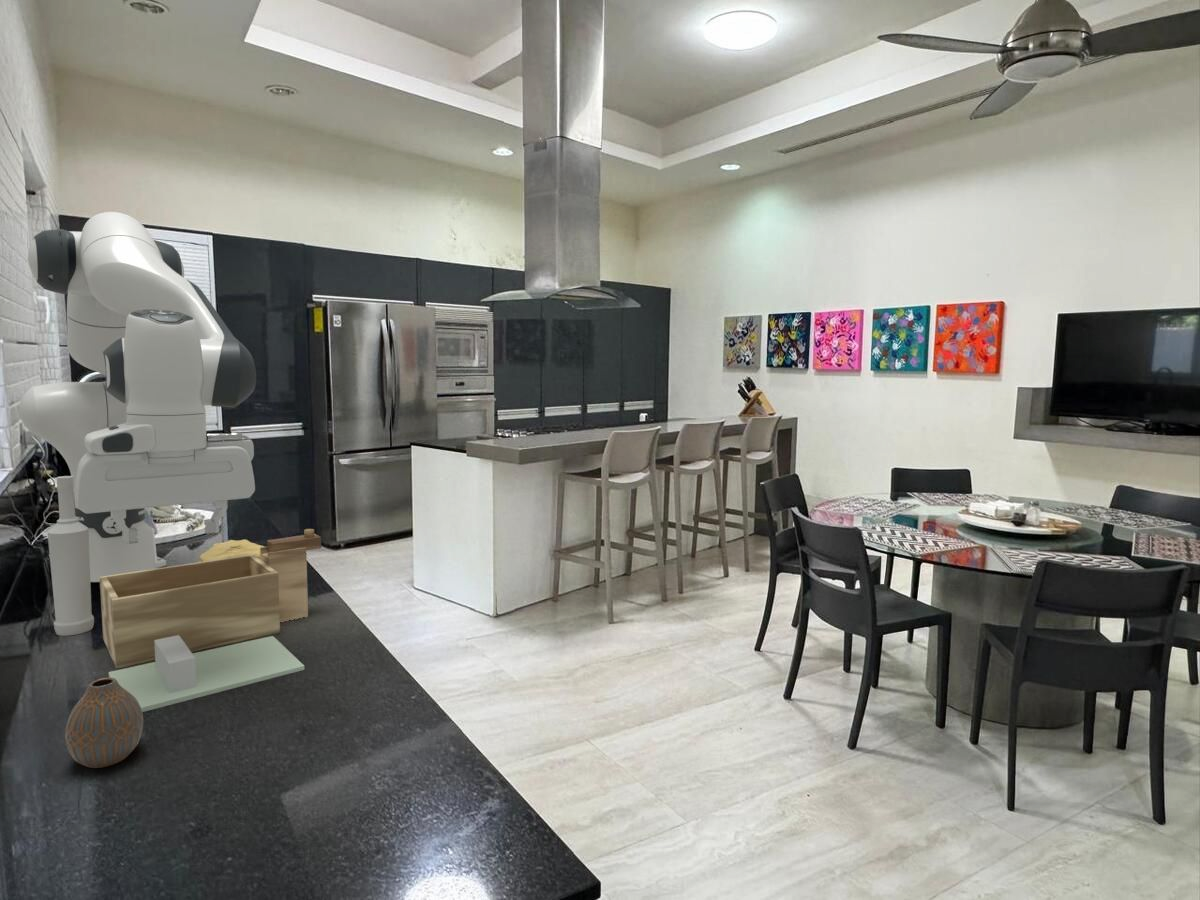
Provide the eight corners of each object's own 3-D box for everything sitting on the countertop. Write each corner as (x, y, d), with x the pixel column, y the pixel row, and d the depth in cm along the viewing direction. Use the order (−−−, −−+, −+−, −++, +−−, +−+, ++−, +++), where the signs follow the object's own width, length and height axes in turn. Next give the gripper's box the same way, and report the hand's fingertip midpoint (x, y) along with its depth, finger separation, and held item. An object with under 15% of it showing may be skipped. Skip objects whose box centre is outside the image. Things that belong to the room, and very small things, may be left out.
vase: (159, 748, 78) (155, 674, 77) (97, 782, 71) (92, 701, 70) (115, 736, 80) (111, 664, 79) (51, 768, 74) (46, 690, 73)
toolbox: (103, 638, 108) (98, 563, 107) (289, 602, 127) (287, 537, 125) (116, 668, 98) (111, 585, 96) (317, 624, 116) (315, 553, 115)
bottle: (72, 637, 108) (62, 480, 105) (45, 634, 109) (34, 478, 106) (102, 626, 113) (93, 475, 110) (76, 623, 114) (66, 473, 111)
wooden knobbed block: (267, 551, 118) (266, 533, 117) (315, 544, 123) (314, 527, 123) (272, 555, 116) (272, 536, 115) (321, 548, 121) (320, 530, 121)
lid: (108, 680, 95) (106, 644, 95) (272, 643, 110) (272, 611, 109) (125, 721, 85) (123, 680, 84) (304, 673, 99) (303, 638, 98)
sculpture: (206, 611, 121) (203, 551, 120) (191, 594, 130) (188, 538, 129) (275, 598, 129) (273, 541, 127) (256, 582, 138) (254, 529, 136)
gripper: (246, 429, 100) (249, 523, 102) (69, 436, 86) (76, 543, 88) (259, 433, 95) (262, 531, 97) (74, 441, 82) (81, 554, 83)
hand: (172, 537), depth 92 cm, fingers open, 8 cm apart
